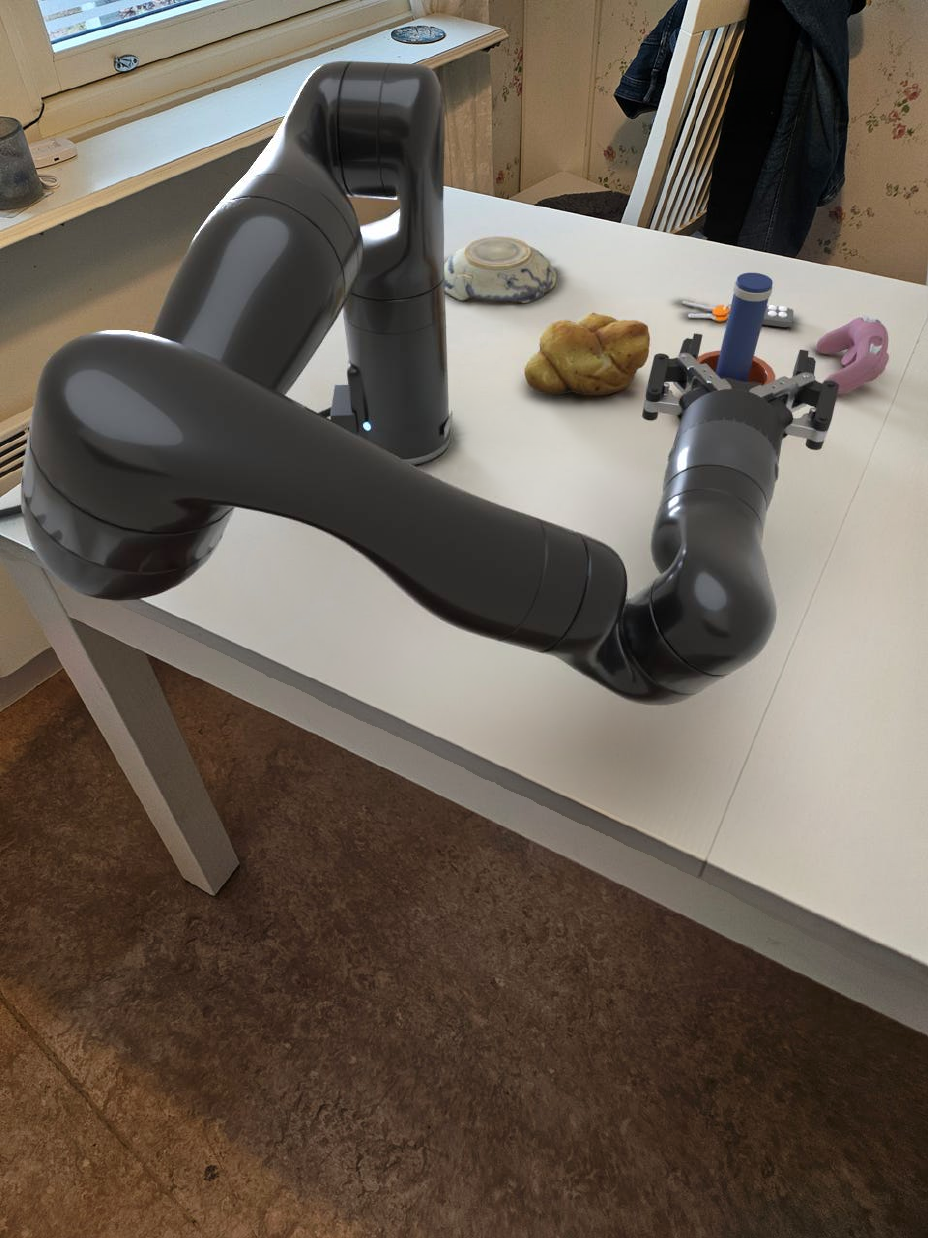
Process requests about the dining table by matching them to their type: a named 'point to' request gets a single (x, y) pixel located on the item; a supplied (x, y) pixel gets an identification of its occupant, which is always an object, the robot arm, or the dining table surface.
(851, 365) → the video game controller
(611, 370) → the bread roll
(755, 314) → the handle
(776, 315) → the key chain
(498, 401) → the dining table surface
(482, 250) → the decorative bowl
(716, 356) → the holder
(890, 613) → the dining table surface
